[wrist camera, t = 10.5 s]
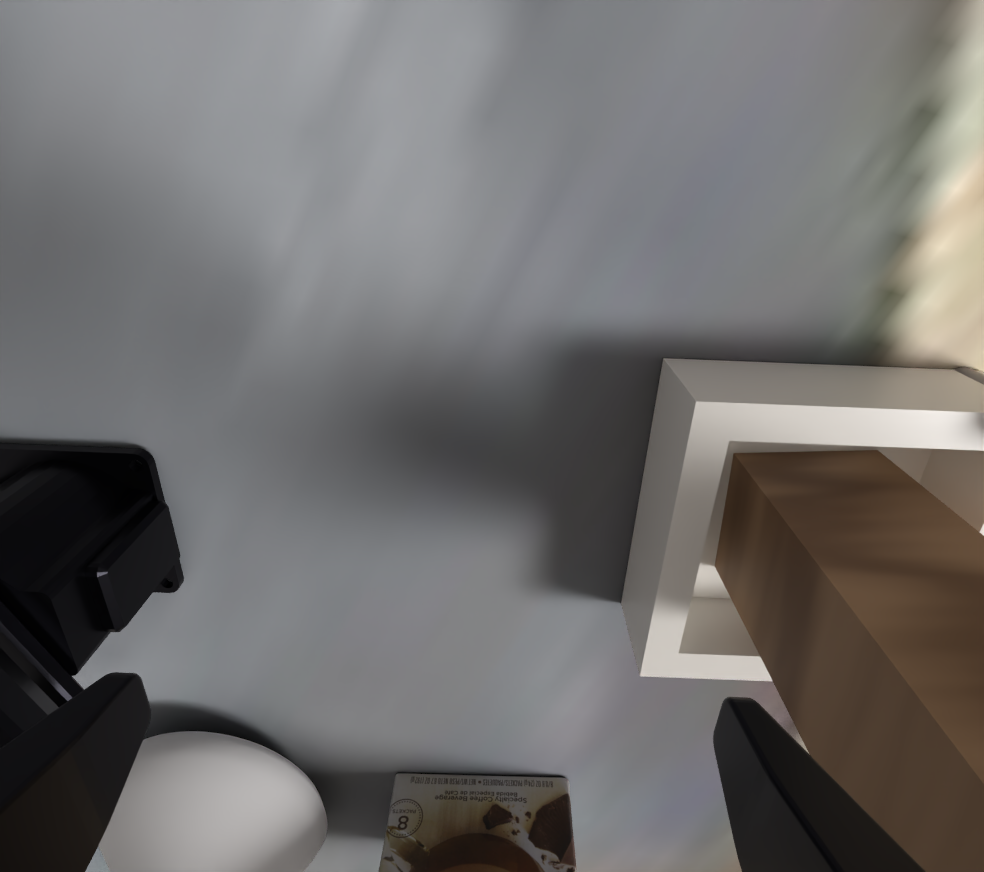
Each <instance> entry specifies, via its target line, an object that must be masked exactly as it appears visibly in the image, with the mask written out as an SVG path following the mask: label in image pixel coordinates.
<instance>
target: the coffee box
mask: <svg viewBox="0 0 984 872" xmlns="http://www.w3.org/2000/svg"><path fill="white" fill-rule="evenodd" d="M379 872H577V871H576V860H575V849H574V839H573V829H572V816H571V804H570V789H569V780H568V779H566V778H556V777H515V776H479V775H443V774H409V773H398V774H396V776H395V780H394V786H393V792H392V798H391V803H390V810H389V816H388V822H387V828H386V834H385V839H384V845H383V851H382V856H381V861H380V867H379Z"/></svg>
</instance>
